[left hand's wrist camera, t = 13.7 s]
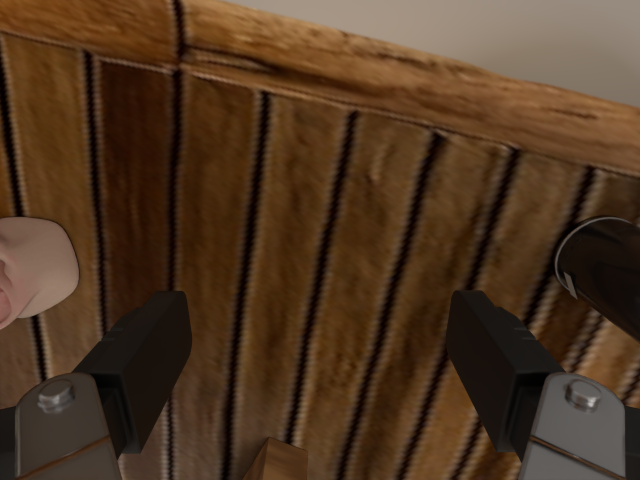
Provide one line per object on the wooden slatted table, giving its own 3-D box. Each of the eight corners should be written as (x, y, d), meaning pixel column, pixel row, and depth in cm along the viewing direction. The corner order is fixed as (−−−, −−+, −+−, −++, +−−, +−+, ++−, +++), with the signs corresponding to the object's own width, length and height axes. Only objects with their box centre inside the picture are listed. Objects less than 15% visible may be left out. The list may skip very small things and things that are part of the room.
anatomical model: (18, 211, 36) (83, 308, 40) (46, 201, 40) (104, 290, 44) (-93, 254, 38) (-19, 343, 42) (-56, 240, 41) (9, 323, 45)
